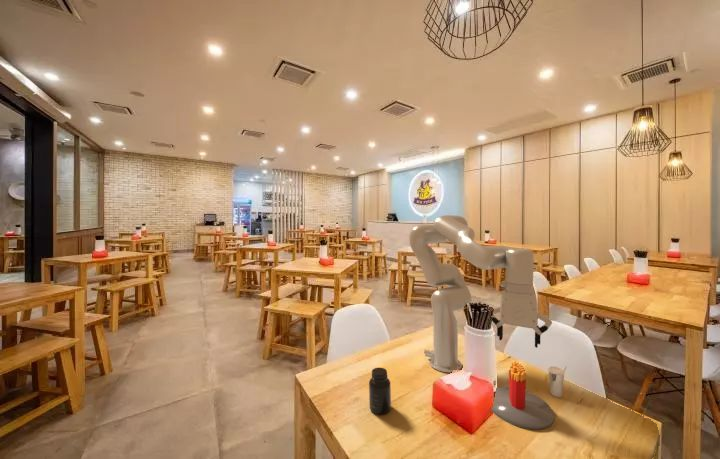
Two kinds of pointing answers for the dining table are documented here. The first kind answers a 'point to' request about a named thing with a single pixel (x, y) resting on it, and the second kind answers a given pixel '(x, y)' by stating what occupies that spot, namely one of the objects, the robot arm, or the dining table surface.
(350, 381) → the dining table surface
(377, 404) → the supplement bottle
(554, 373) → the milkshake
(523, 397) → the french fries
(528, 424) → the plate
